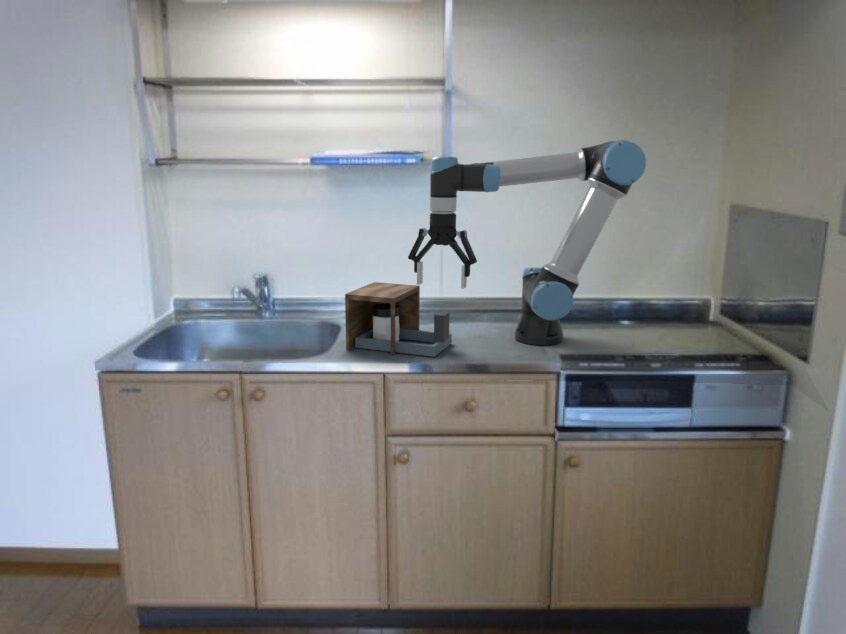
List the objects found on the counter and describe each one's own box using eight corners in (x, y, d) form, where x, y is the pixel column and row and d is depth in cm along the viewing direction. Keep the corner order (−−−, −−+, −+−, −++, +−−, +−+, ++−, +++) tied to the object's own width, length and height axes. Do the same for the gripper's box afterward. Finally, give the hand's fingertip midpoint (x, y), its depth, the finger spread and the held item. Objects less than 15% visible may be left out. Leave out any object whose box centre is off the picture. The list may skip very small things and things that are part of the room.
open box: (419, 338, 213) (419, 285, 209) (393, 355, 195) (393, 298, 191) (375, 333, 219) (374, 282, 215) (346, 349, 200) (345, 294, 196)
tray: (454, 343, 207) (454, 308, 204) (437, 357, 193) (437, 319, 190) (376, 334, 216) (376, 301, 213) (355, 347, 202) (354, 311, 199)
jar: (399, 348, 202) (399, 309, 199) (372, 348, 202) (371, 309, 199) (399, 340, 211) (399, 302, 208) (373, 340, 211) (373, 303, 208)
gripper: (489, 213, 190) (486, 287, 195) (407, 209, 198) (406, 280, 203) (481, 215, 183) (479, 291, 188) (397, 211, 191) (397, 284, 196)
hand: (441, 285), depth 196 cm, fingers open, 13 cm apart
